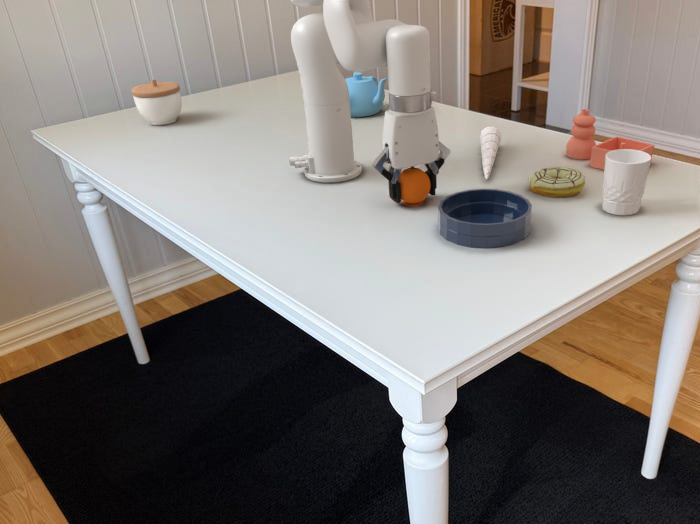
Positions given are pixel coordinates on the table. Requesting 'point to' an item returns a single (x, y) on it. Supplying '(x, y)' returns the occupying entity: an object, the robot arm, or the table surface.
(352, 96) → the teapot
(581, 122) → the pottery
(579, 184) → the decorated donut
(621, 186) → the white cup
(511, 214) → the blue bowl
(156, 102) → the lidded bowl
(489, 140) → the unicorn horn
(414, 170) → the orange
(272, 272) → the table surface
